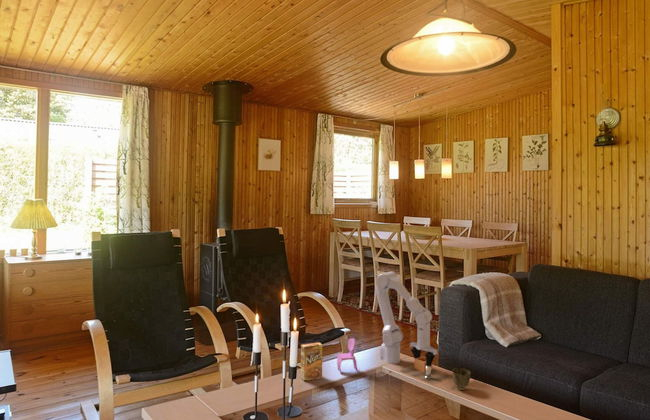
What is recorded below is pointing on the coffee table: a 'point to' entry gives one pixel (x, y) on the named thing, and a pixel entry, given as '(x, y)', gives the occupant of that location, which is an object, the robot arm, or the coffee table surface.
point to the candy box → (311, 361)
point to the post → (428, 373)
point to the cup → (461, 378)
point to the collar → (420, 364)
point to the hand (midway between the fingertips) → (423, 365)
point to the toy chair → (348, 355)
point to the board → (435, 374)
